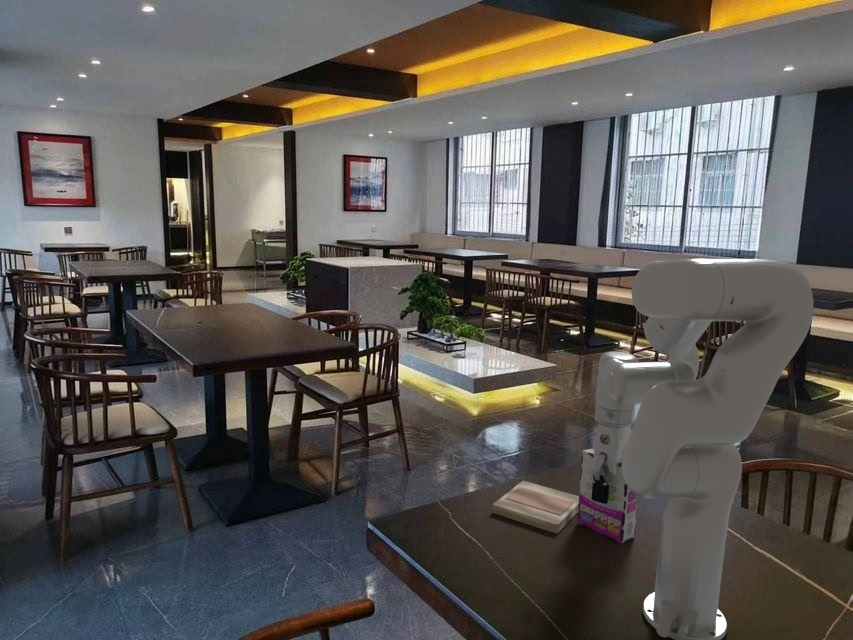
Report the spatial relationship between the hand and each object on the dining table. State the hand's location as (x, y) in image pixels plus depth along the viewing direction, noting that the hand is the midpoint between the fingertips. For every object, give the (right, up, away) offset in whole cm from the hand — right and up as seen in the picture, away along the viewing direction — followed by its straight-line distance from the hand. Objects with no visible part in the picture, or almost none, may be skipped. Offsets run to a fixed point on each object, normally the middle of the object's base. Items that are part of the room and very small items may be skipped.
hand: (607, 492), depth 129 cm
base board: (-13, -6, +9) cm, 17 cm away
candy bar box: (0, -8, +1) cm, 8 cm away
